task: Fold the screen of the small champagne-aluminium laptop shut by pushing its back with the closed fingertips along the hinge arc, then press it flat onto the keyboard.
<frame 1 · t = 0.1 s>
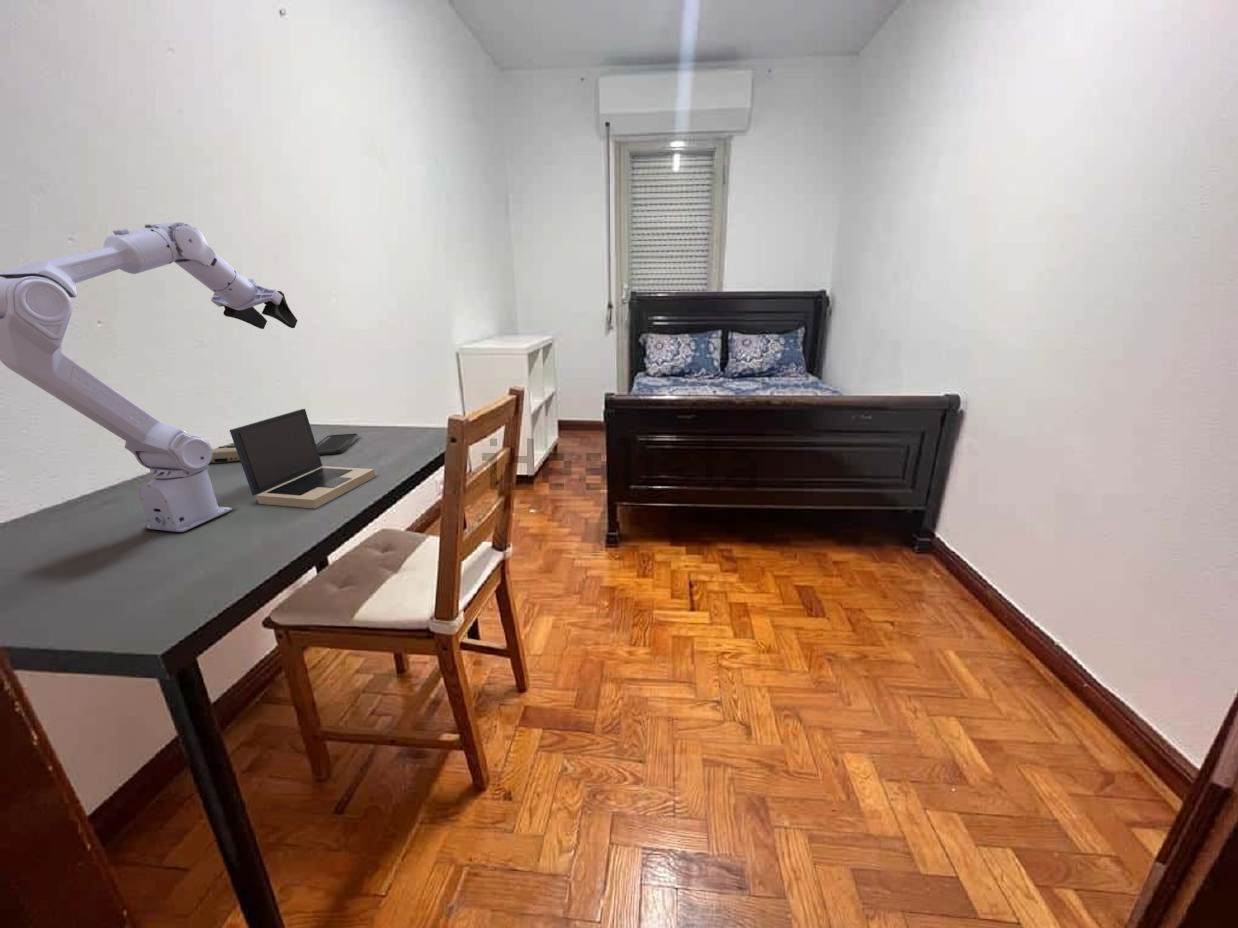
hand: (279, 324, 109), 32 cm above the table, tool tilted 50°, fingers open, 7 cm apart
phone: (335, 446, 135), on the table
laptop screen: (280, 449, 105), point 8 cm above the table, hinge at 95.0°
computer: (251, 457, 128), on the table
laptop: (320, 489, 106), on the table
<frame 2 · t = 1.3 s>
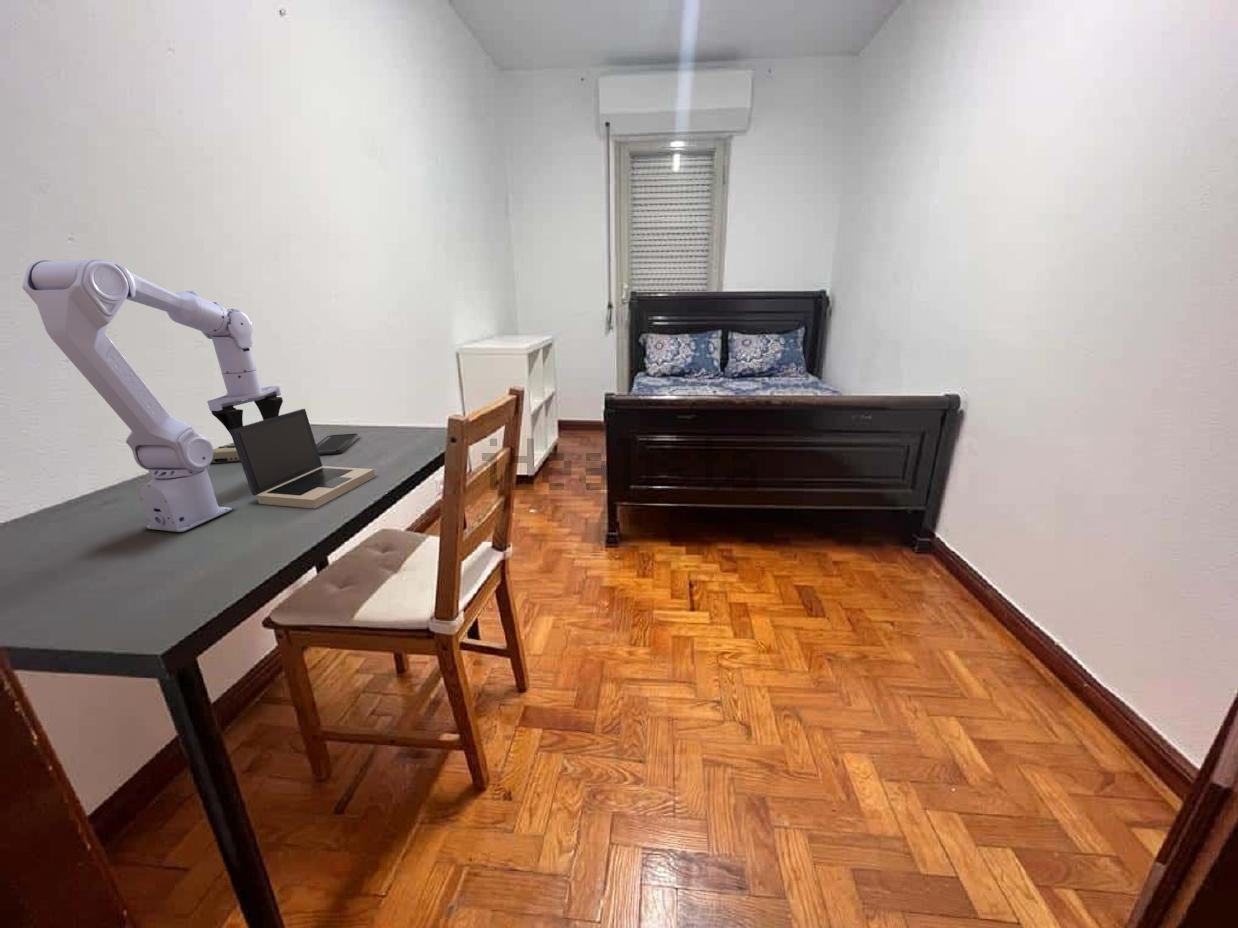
hand: (257, 436, 108), 10 cm above the table, tool pointing down, fingers open, 7 cm apart
nothing on the table moved.
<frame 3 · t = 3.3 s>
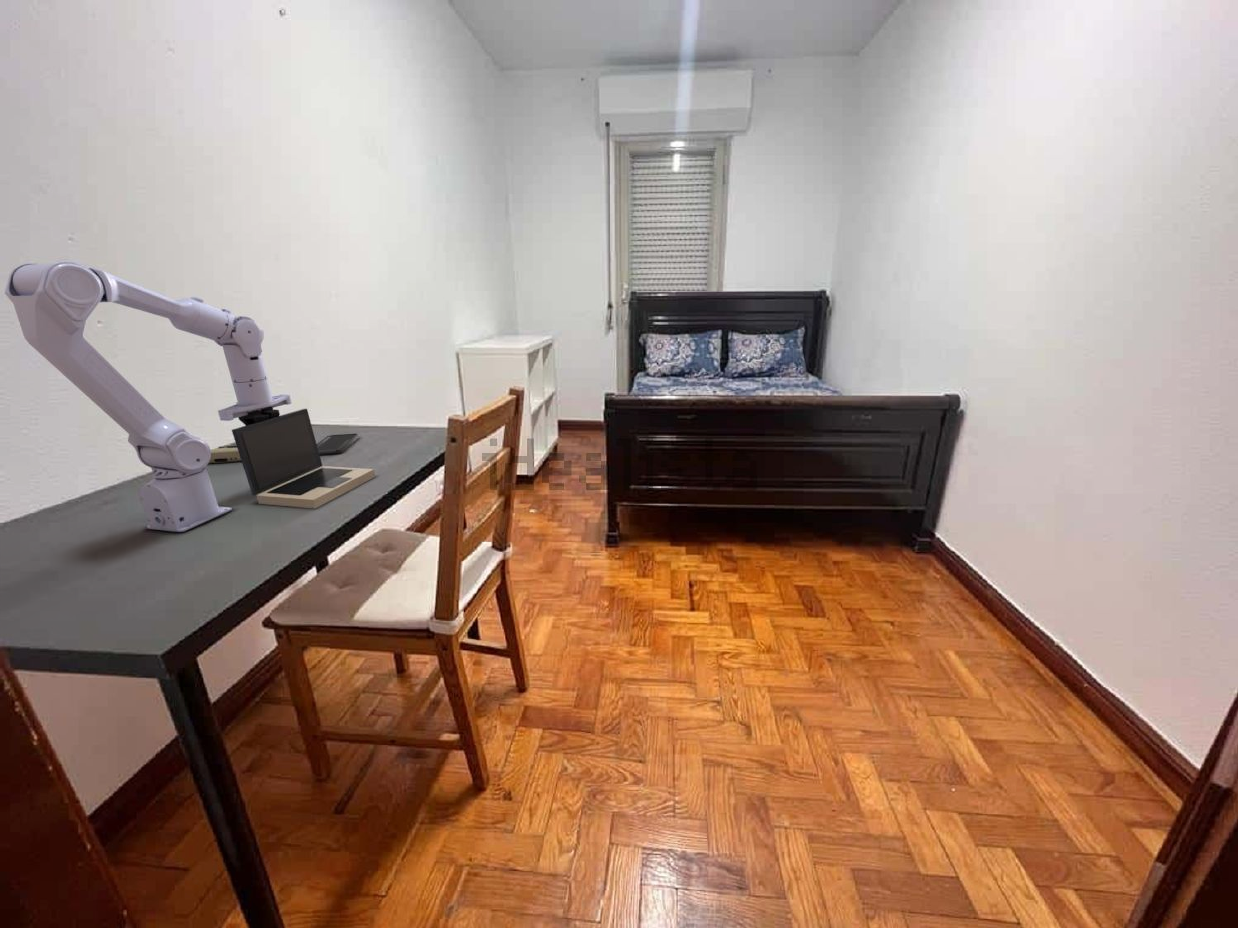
hand: (267, 446, 105), 9 cm above the table, tool pointing down, fingers closed, pressing on laptop screen
laptop screen: (281, 449, 104), point 8 cm above the table, hinge at 92.7°, touching gripper
everything else where it was.
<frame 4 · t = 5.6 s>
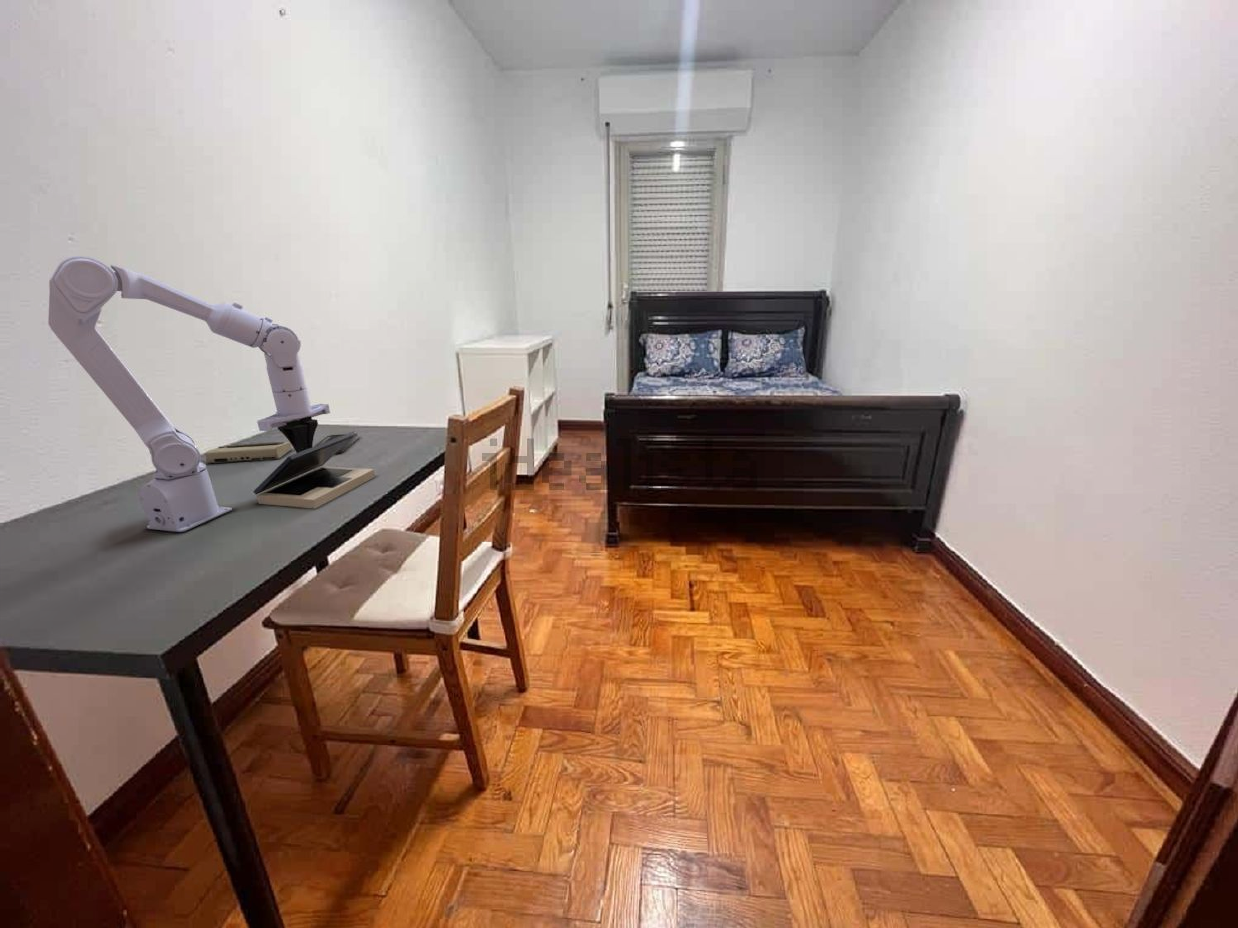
hand: (305, 456, 104), 7 cm above the table, tool pointing down, fingers closed, pressing on laptop screen
laptop screen: (307, 461, 104), point 6 cm above the table, hinge at 36.3°, touching gripper
everything else where it was.
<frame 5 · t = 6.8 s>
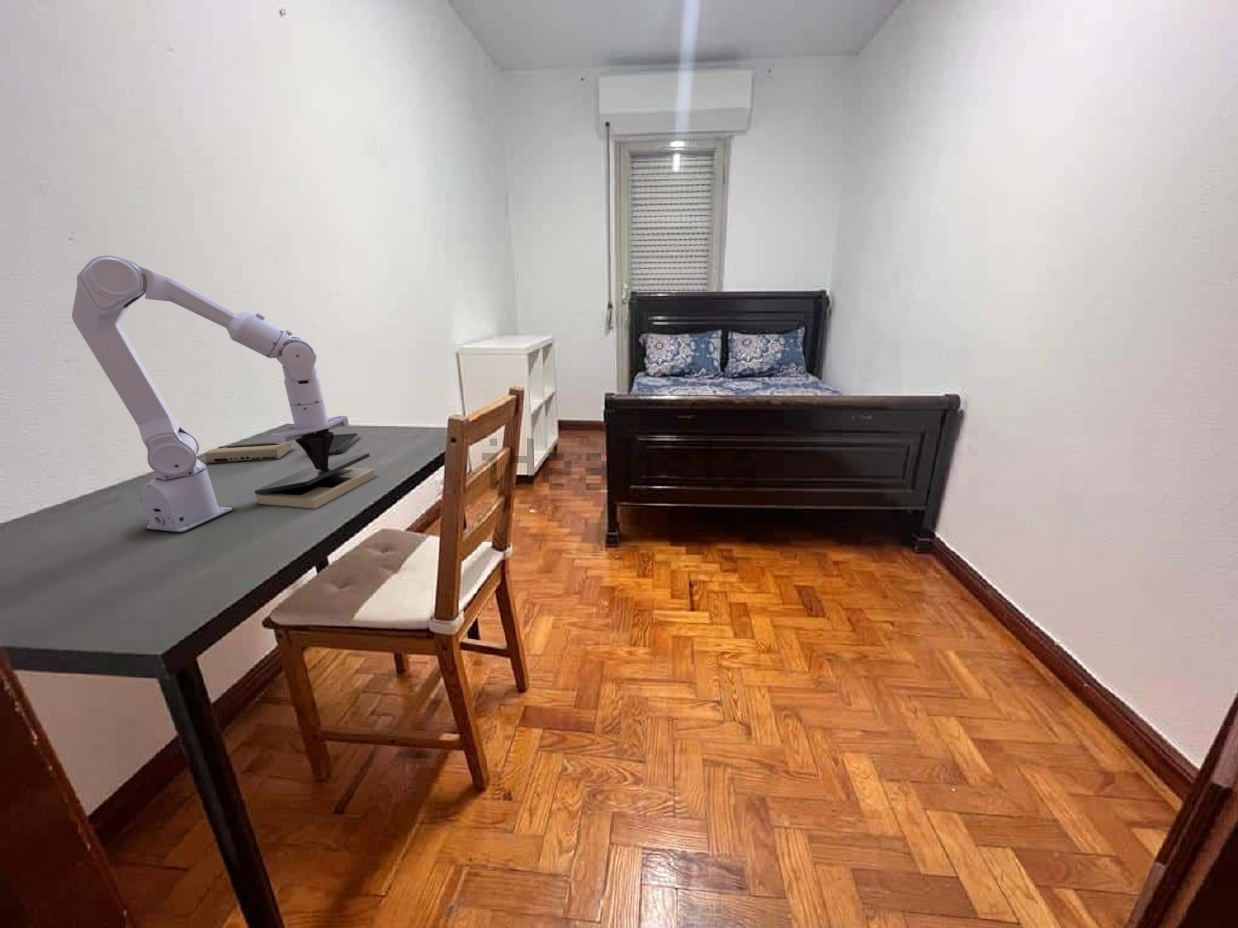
hand: (321, 468, 104), 5 cm above the table, tool pointing down, fingers closed, pressing on laptop screen
laptop screen: (315, 472, 104), point 4 cm above the table, hinge at 12.2°, touching gripper
everything else where it was.
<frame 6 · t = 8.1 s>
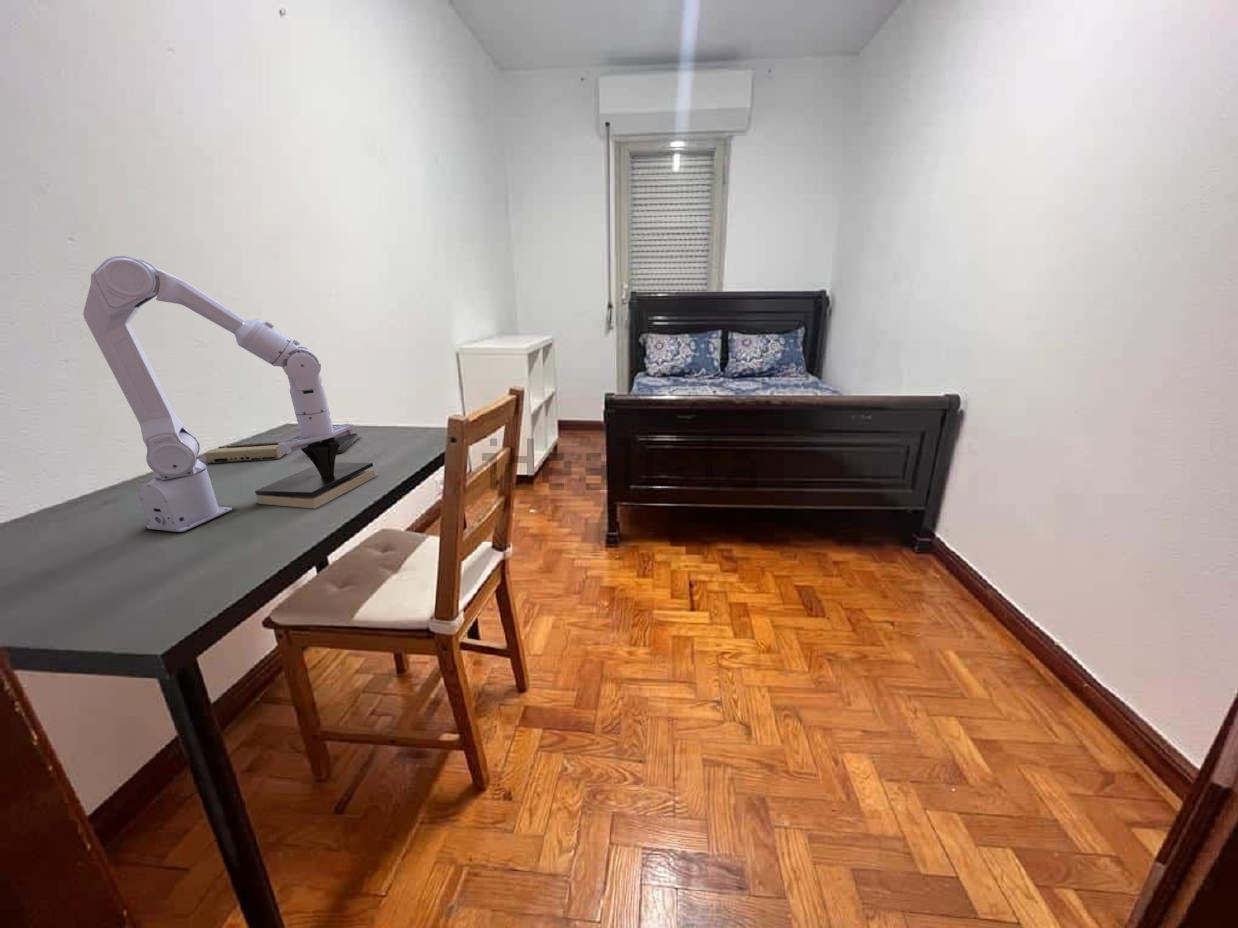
hand: (328, 476, 104), 3 cm above the table, tool pointing down, fingers closed, pressing on laptop screen
laptop screen: (317, 477, 105), point 3 cm above the table, hinge at 2.6°, touching gripper, laptop
everything else where it was.
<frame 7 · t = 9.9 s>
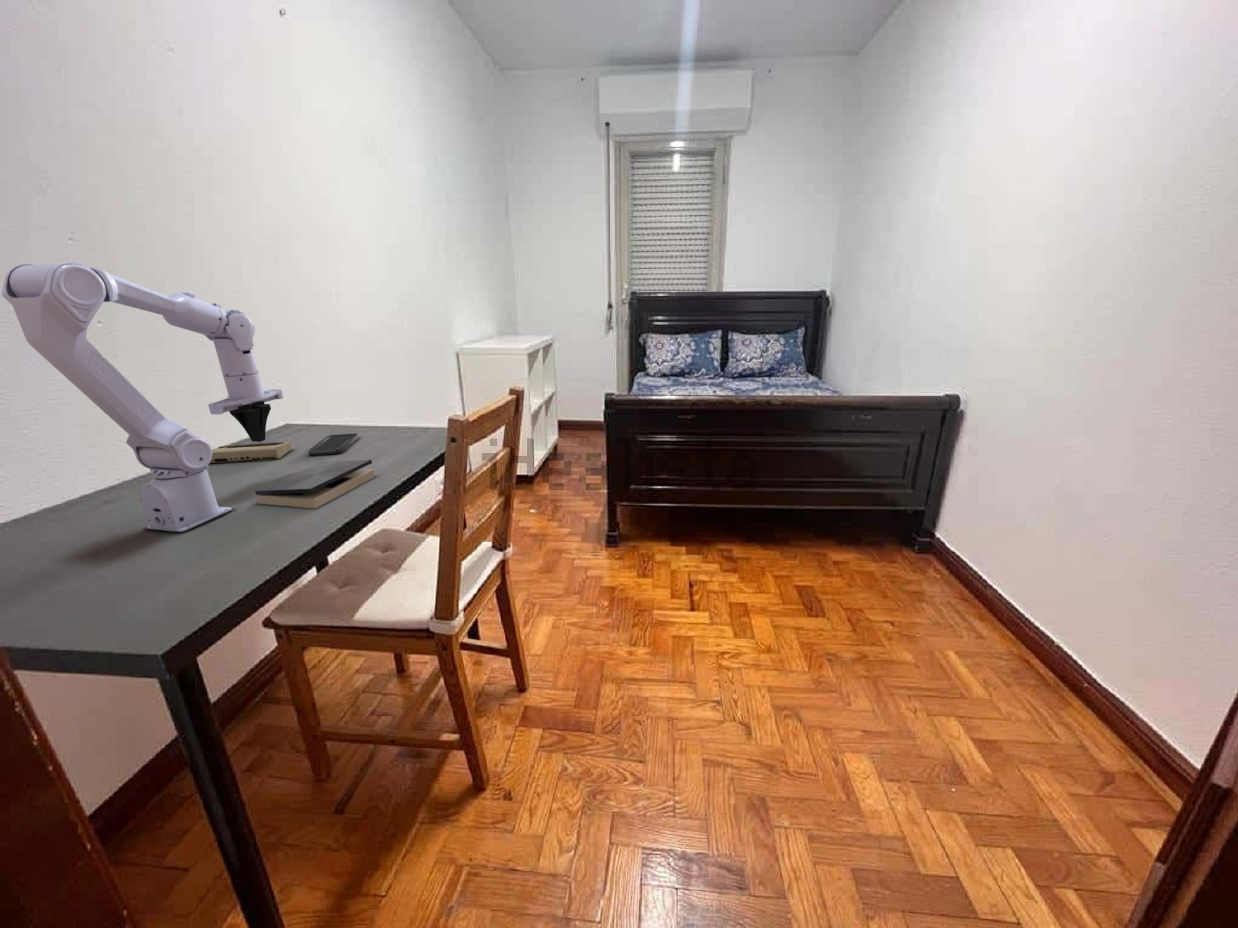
hand: (258, 440, 105), 10 cm above the table, tool pointing down, fingers closed
laptop screen: (317, 476, 105), point 3 cm above the table, hinge at 5.6°
everything else where it was.
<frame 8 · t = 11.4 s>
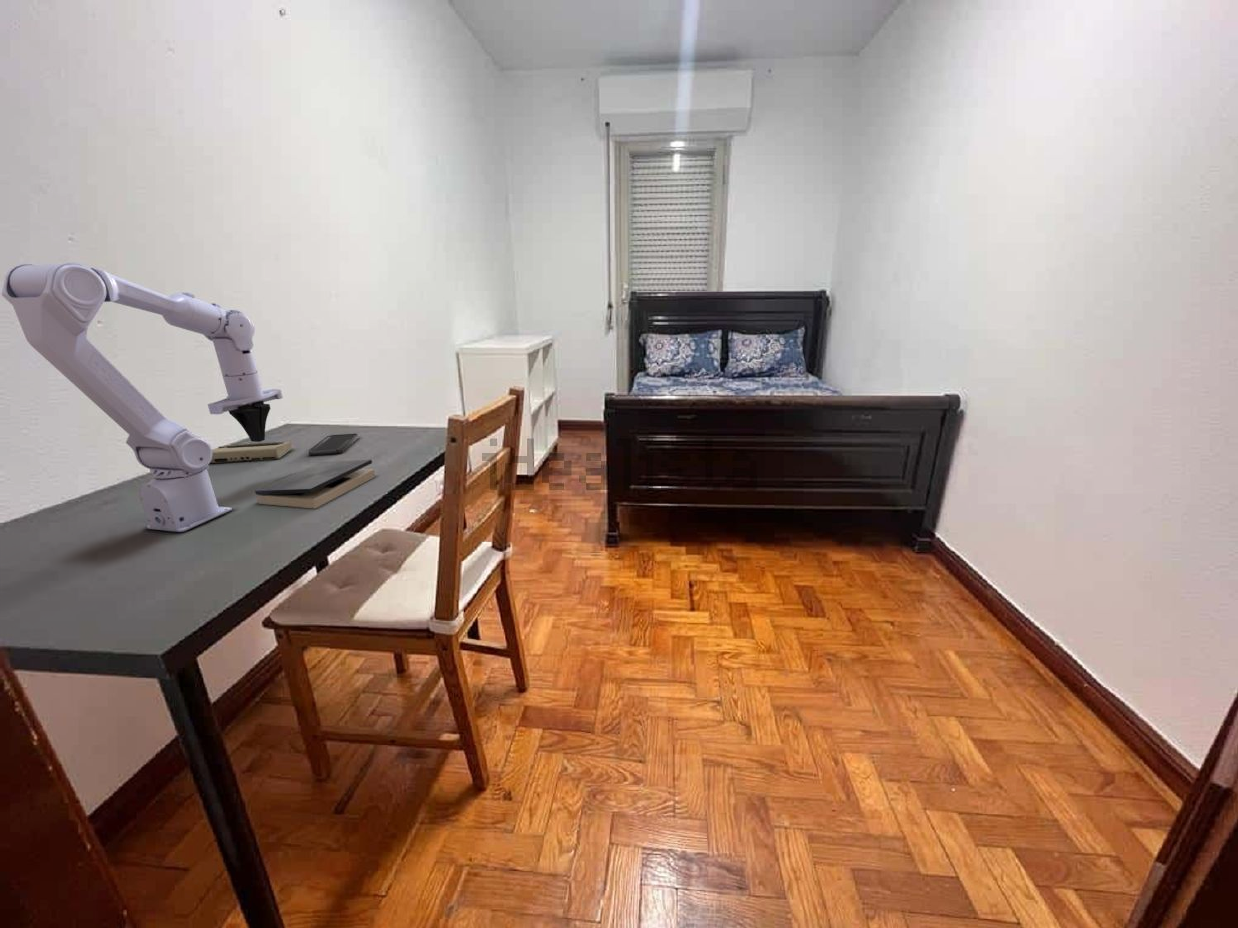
hand: (258, 440, 105), 10 cm above the table, tool pointing down, fingers closed
nothing on the table moved.
at the end: laptop screen at +6° (first picture: +95°) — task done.
